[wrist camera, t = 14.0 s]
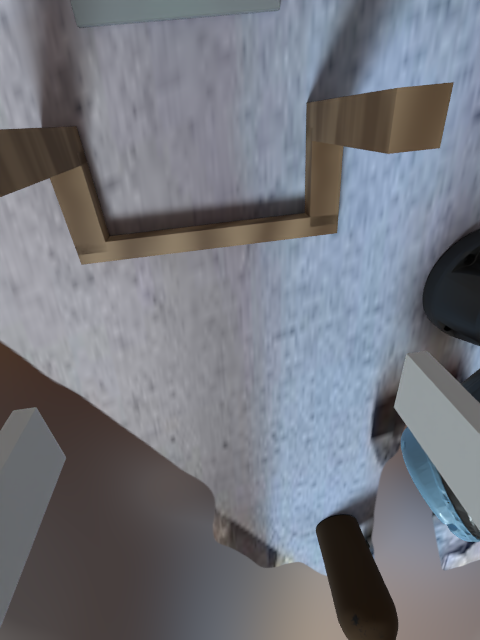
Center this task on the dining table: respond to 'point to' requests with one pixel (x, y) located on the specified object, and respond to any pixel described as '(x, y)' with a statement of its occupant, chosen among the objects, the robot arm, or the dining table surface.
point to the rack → (319, 219)
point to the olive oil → (356, 581)
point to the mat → (161, 10)
